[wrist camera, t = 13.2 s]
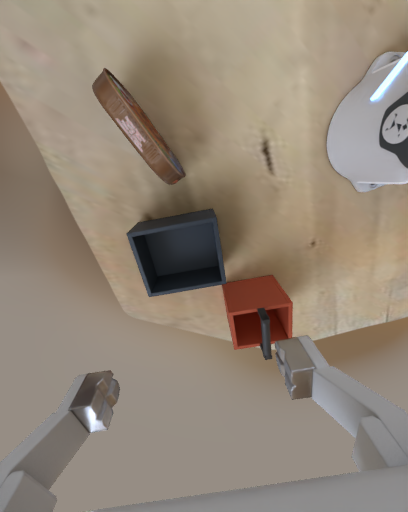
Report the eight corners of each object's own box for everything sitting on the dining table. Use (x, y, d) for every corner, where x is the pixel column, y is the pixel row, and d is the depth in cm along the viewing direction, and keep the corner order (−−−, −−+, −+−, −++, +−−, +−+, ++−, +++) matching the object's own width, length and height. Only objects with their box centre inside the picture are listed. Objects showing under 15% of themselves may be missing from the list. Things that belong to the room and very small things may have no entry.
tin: (187, 174, 33) (185, 176, 26) (173, 185, 34) (167, 191, 26) (122, 82, 28) (94, 49, 20) (106, 97, 29) (74, 72, 21)
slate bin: (212, 208, 36) (216, 216, 30) (221, 266, 41) (226, 283, 34) (138, 222, 36) (126, 233, 30) (155, 277, 41) (148, 297, 35)
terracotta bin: (272, 274, 42) (301, 314, 31) (273, 307, 46) (300, 354, 34) (221, 283, 42) (231, 325, 31) (227, 315, 46) (237, 364, 35)
